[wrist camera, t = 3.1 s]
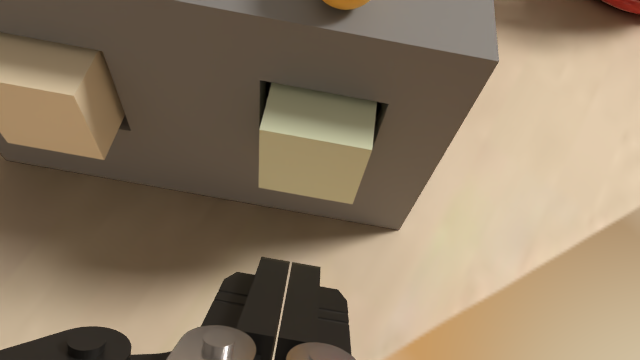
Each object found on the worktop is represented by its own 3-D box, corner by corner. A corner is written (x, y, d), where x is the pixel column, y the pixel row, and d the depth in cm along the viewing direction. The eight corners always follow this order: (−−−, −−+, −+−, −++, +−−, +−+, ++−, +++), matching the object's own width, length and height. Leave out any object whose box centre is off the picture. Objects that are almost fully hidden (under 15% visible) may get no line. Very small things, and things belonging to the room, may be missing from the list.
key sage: (352, 204, 21) (372, 150, 18) (258, 187, 21) (259, 129, 18) (360, 133, 23) (380, 71, 20) (275, 117, 23) (279, 53, 20)
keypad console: (399, 230, 27) (534, 1, 14) (5, 160, 26) (-237, -147, 13) (405, 119, 31) (513, -135, 18) (66, 57, 31) (-73, -252, 18)
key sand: (104, 160, 21) (73, 95, 17) (7, 142, 21) (-43, 74, 17) (135, 91, 23) (113, 22, 20) (47, 76, 23) (10, 3, 19)
